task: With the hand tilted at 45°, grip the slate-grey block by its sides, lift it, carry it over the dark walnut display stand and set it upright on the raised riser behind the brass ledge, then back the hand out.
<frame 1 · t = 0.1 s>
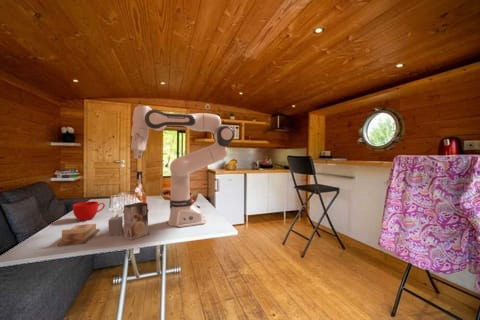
hand: (137, 158, 119), 39 cm above the table, tool pointing down, fingers open, 8 cm apart
red cup: (89, 219, 133), on the table
coffee box: (136, 236, 105), on the table
grey block: (115, 233, 108), on the table
display stand: (80, 237, 103), on the table
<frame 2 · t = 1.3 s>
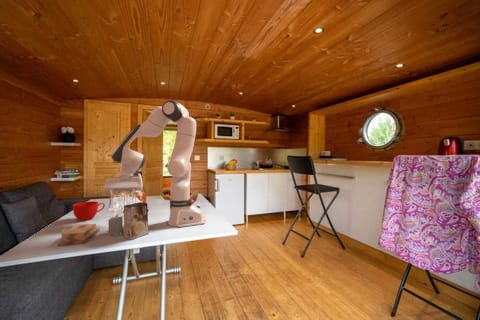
hand: (121, 196, 119), 17 cm above the table, tool tilted 45°, fingers open, 8 cm apart
nothing on the table moved.
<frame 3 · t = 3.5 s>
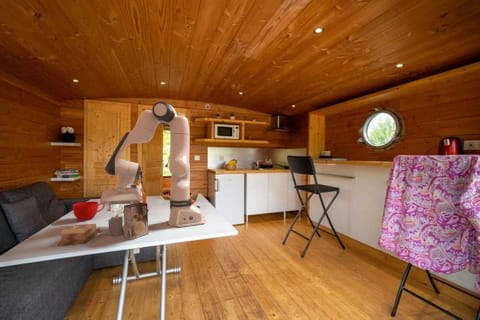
hand: (118, 210, 114), 11 cm above the table, tool tilted 45°, fingers open, 8 cm apart
nothing on the table moved.
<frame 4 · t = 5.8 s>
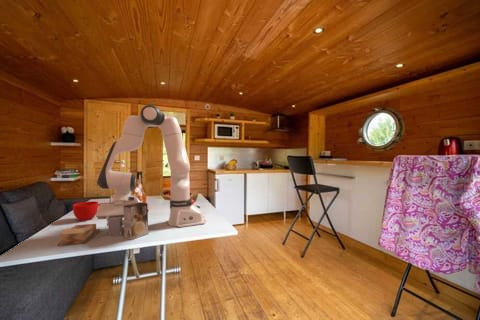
hand: (115, 224, 108), 5 cm above the table, tool tilted 45°, fingers closed on grey block, 5 cm apart
grey block: (115, 233, 108), on the table, touching gripper
everything else where it was.
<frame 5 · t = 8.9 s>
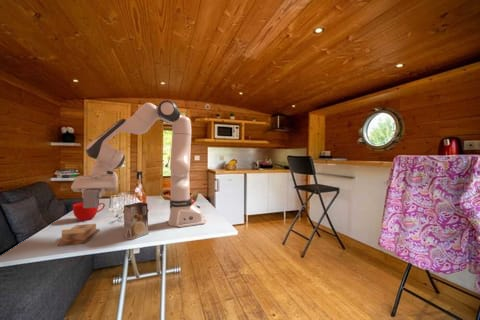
hand: (91, 197, 104), 20 cm above the table, tool tilted 45°, fingers closed on grey block, 5 cm apart
grey block: (91, 206, 104), point 15 cm above the table, touching gripper
everything else where it was.
when the fingers open (11 cm above the table, at t = 11.6 s): grey block drops 1 cm, resting on display stand.
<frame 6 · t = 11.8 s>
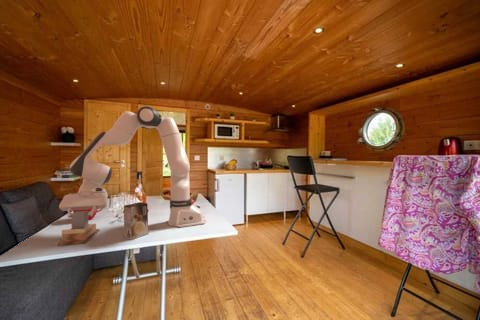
hand: (79, 216, 102), 11 cm above the table, tool tilted 45°, fingers open, 7 cm apart
grey block: (80, 228, 103), point 5 cm above the table, touching display stand
everything else where it was.
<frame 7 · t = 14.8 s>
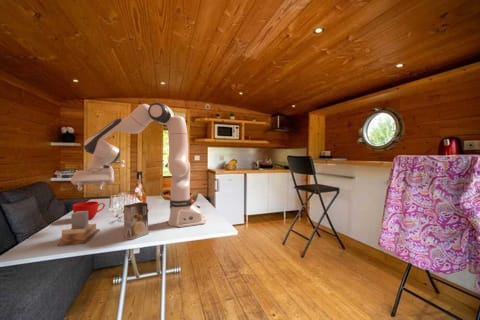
hand: (89, 189, 113), 22 cm above the table, tool tilted 45°, fingers open, 8 cm apart
nothing on the table moved.
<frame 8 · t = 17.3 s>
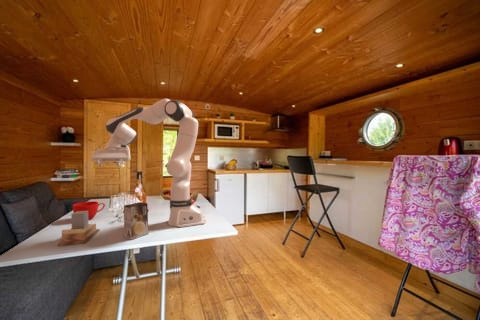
hand: (109, 165, 122), 34 cm above the table, tool tilted 45°, fingers open, 8 cm apart
nothing on the table moved.
at the end: grey block 0.3 cm off-centre on the display stand, point 4.6 cm above the display stand's base; grey block tilted 0°; the gripper is holding nothing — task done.
